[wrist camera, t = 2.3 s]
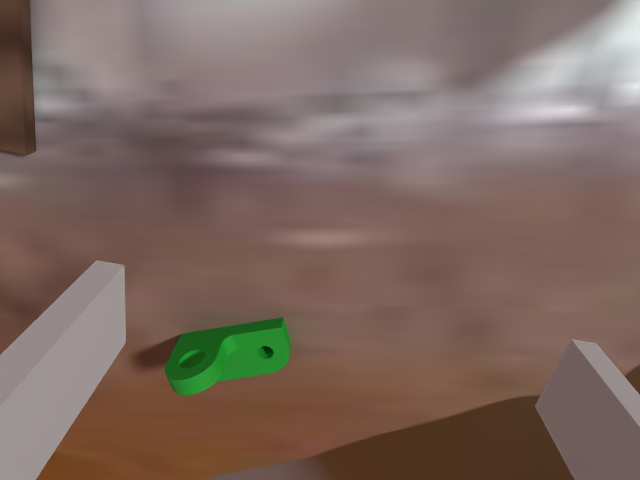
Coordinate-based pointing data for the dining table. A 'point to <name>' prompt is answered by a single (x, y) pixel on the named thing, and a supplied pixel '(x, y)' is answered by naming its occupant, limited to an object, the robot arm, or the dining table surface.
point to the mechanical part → (227, 354)
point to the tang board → (16, 78)
